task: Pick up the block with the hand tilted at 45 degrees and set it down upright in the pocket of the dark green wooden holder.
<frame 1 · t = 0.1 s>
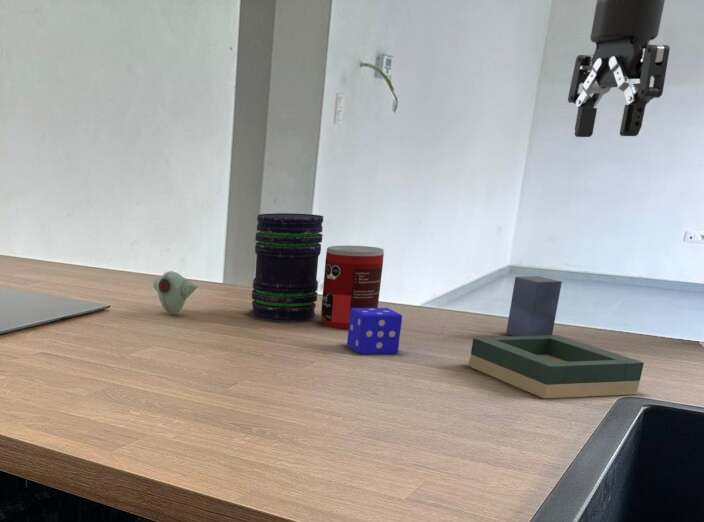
hand: (604, 136, 114), 26 cm above the worktop, tool pointing down, fingers open, 8 cm apart
die: (371, 351, 111), on the worktop
canned food: (347, 325, 126), on the worktop
storage jar: (282, 317, 133), on the worktop
block: (528, 337, 118), on the worktop
robot head: (171, 316, 133), on the worktop
holder: (547, 379, 97), on the worktop
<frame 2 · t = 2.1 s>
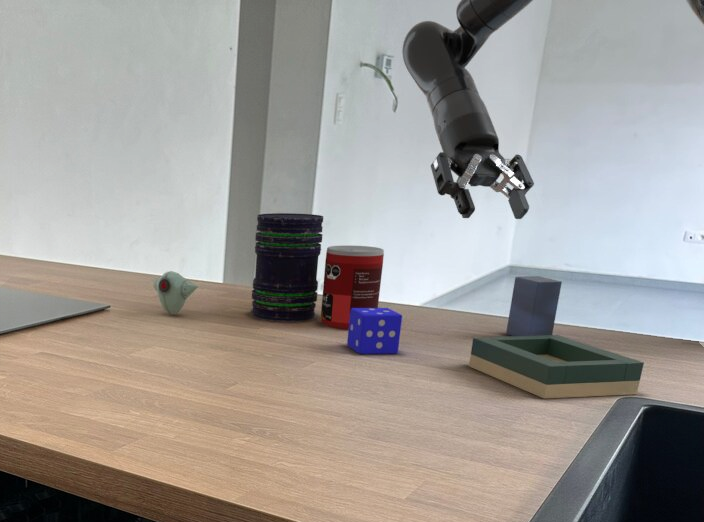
hand: (496, 215, 124), 15 cm above the worktop, tool tilted 45°, fingers open, 8 cm apart
nothing on the worktop moved.
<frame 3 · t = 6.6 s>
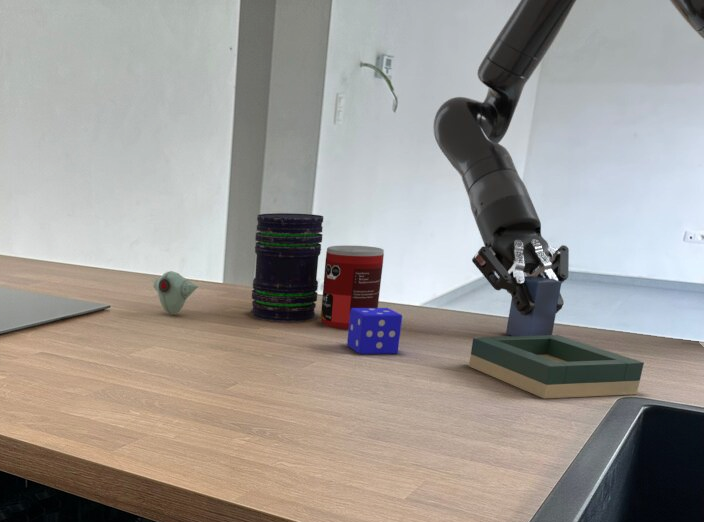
hand: (542, 311, 115), 4 cm above the worktop, tool tilted 45°, fingers closed on block, 3 cm apart
block: (528, 337, 118), on the worktop, touching gripper
everything else where it was.
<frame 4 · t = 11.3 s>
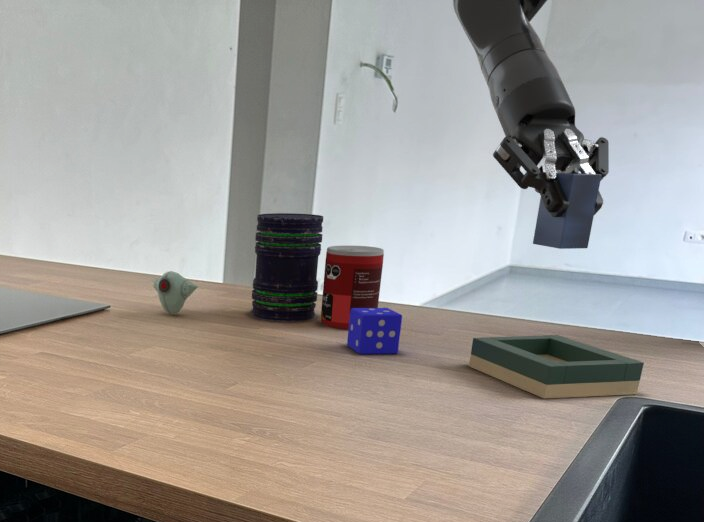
hand: (578, 211, 96), 18 cm above the worktop, tool tilted 45°, fingers closed on block, 3 cm apart
block: (559, 246, 99), point 14 cm above the worktop, touching gripper
everything else where it was.
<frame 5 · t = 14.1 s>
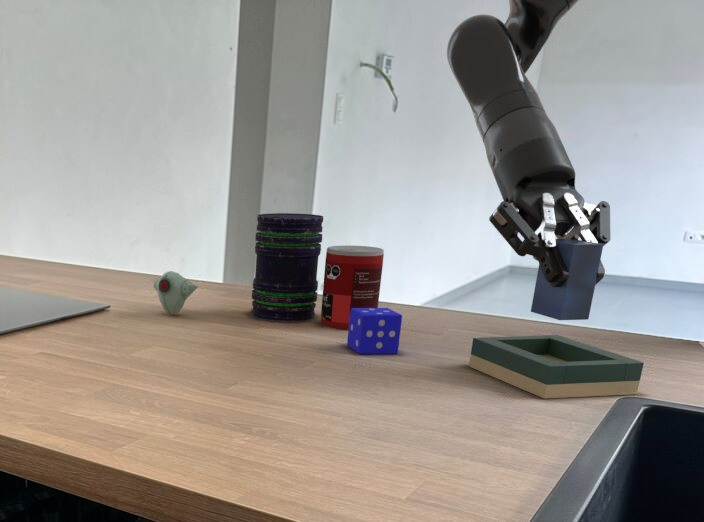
hand: (578, 281, 91), 11 cm above the worktop, tool tilted 45°, fingers closed on block, 3 cm apart
block: (558, 315, 95), point 7 cm above the worktop, touching gripper
everything else where it was.
when the fingers open (6 cm above the worktop, at t = 16.1 s): block stays where it is, resting on holder.
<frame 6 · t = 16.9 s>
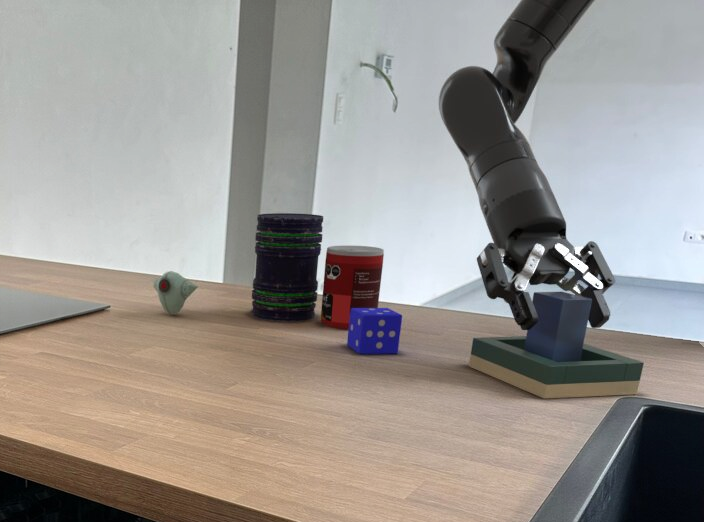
hand: (566, 325, 94), 6 cm above the worktop, tool tilted 45°, fingers open, 8 cm apart
block: (549, 366, 97), point 1 cm above the worktop, touching holder
everything else where it was.
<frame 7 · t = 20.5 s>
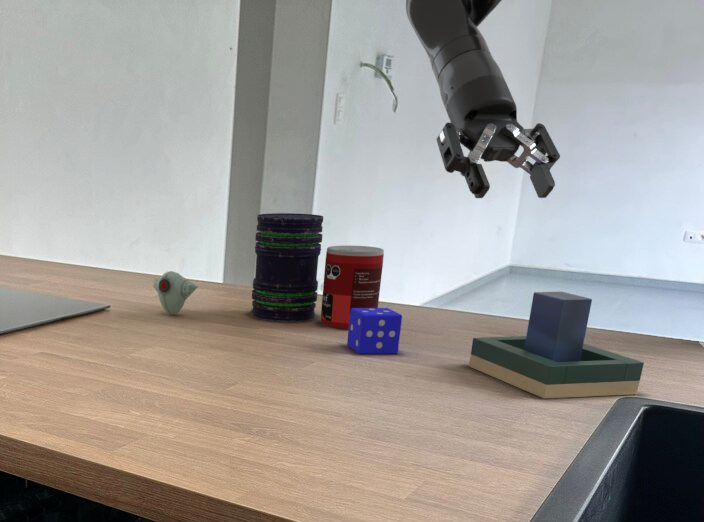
hand: (515, 193, 105), 19 cm above the worktop, tool tilted 45°, fingers open, 8 cm apart
nothing on the worktop moved.
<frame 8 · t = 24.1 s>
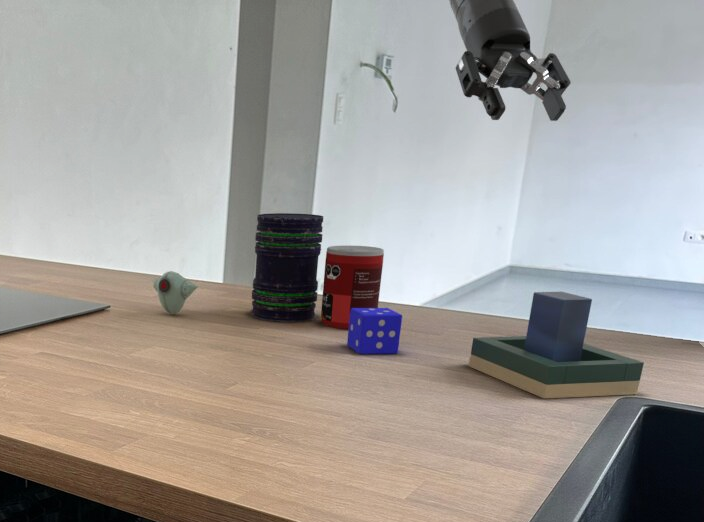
hand: (529, 115, 113), 29 cm above the worktop, tool tilted 45°, fingers open, 8 cm apart
nothing on the worktop moved.
at the end: block 0.1 cm off-centre on the holder, point 1.5 cm above the holder's base; block tilted 0°; the gripper is holding nothing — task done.
